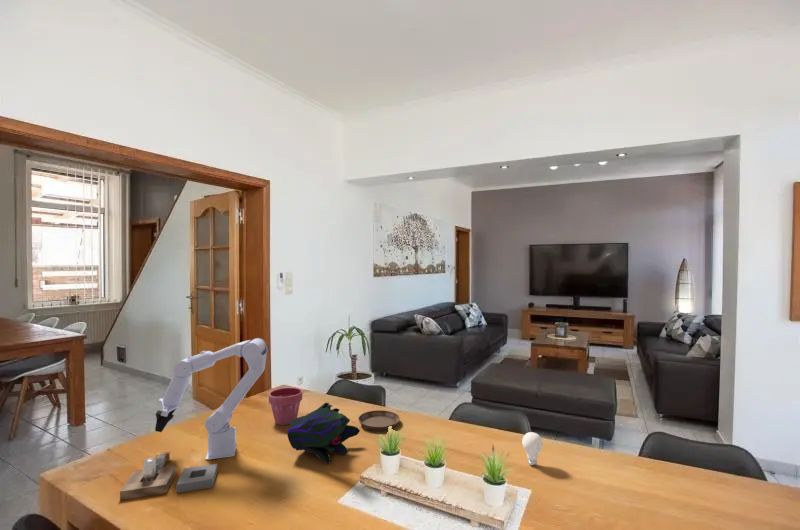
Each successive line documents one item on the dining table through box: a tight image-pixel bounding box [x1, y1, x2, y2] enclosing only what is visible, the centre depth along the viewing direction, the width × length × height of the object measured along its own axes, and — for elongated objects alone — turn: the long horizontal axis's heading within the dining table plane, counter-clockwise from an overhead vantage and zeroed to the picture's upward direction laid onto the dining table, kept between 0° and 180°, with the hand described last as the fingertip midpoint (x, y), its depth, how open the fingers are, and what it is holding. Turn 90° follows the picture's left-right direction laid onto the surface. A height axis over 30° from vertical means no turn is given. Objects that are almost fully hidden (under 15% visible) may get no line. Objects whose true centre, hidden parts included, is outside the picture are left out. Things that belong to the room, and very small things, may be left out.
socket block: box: [119, 465, 177, 501], centre depth 125 cm, size 12×12×2 cm
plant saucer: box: [357, 409, 401, 432], centre depth 172 cm, size 18×18×3 cm
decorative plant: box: [287, 402, 361, 465], centre depth 143 cm, size 21×26×30 cm
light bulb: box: [521, 431, 544, 466], centre depth 136 cm, size 7×7×11 cm
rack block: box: [176, 463, 218, 493], centre depth 127 cm, size 10×10×2 cm
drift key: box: [154, 451, 172, 475], centre depth 136 cm, size 4×10×3 cm, turn 17°
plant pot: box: [268, 387, 303, 426], centre depth 176 cm, size 14×14×13 cm
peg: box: [142, 457, 157, 482], centre depth 125 cm, size 3×3×8 cm
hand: (161, 425), depth 144 cm, fingers open, 7 cm apart
